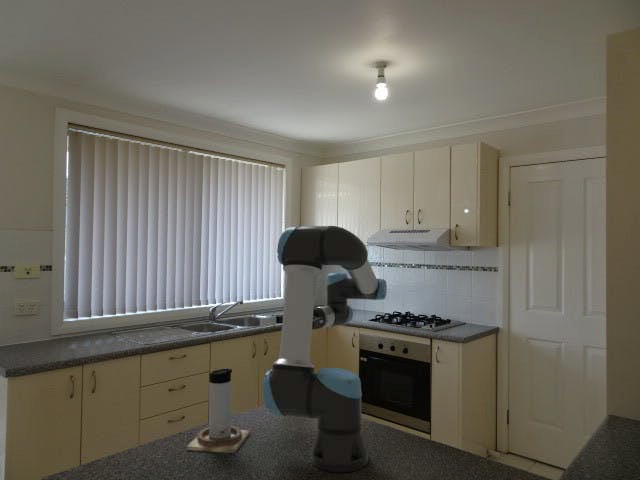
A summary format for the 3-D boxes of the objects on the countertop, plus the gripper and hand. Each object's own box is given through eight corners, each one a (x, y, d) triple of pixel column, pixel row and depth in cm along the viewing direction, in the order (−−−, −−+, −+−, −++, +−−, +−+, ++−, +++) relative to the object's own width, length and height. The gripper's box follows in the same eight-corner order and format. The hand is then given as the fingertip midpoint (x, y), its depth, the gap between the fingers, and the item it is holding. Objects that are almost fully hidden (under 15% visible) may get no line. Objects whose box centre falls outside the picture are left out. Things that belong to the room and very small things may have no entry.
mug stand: (249, 433, 144) (249, 425, 144) (234, 453, 130) (234, 443, 130) (206, 431, 146) (206, 423, 146) (186, 449, 132) (186, 440, 132)
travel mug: (227, 443, 134) (227, 372, 134) (205, 441, 135) (205, 371, 136) (235, 434, 140) (235, 367, 141) (213, 433, 141) (214, 366, 142)
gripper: (345, 332, 160) (300, 340, 144) (294, 324, 177) (250, 331, 161) (345, 310, 160) (300, 316, 144) (294, 304, 177) (250, 309, 162)
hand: (273, 324), depth 153 cm, fingers open, 13 cm apart
